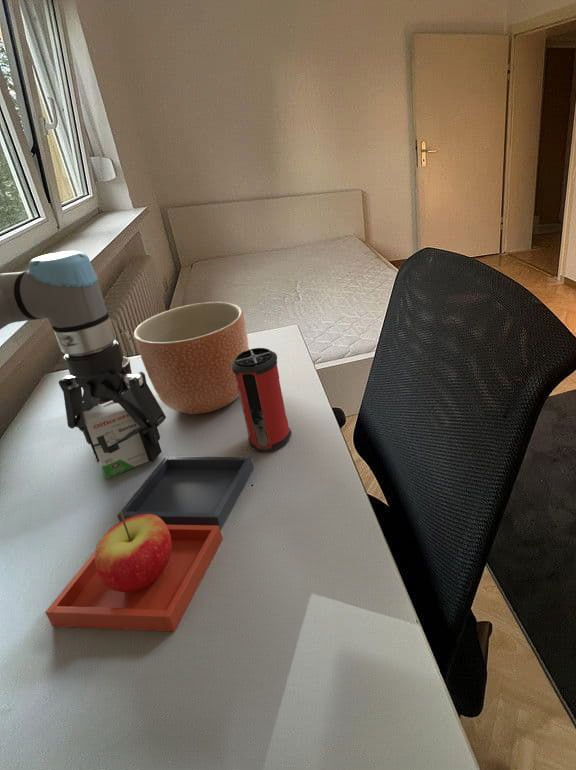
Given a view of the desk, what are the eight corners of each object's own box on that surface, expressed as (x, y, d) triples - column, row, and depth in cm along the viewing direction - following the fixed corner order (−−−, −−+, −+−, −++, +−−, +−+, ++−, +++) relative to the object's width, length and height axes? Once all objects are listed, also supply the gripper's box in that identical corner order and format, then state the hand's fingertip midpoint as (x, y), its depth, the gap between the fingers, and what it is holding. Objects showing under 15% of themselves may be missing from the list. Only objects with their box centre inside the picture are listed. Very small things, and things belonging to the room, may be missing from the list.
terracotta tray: (52, 626, 53) (44, 612, 52) (121, 536, 65) (116, 523, 64) (174, 631, 52) (169, 616, 51) (223, 538, 64) (219, 525, 63)
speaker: (295, 443, 82) (280, 358, 76) (253, 458, 79) (233, 371, 73) (286, 421, 89) (271, 341, 82) (246, 434, 86) (227, 352, 79)
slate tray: (121, 528, 66) (116, 515, 66) (169, 468, 78) (165, 456, 77) (221, 530, 65) (217, 517, 64) (254, 468, 77) (251, 456, 76)
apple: (170, 536, 64) (152, 483, 60) (185, 578, 58) (166, 521, 54) (104, 571, 59) (79, 516, 56) (113, 622, 53) (86, 562, 49)
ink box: (105, 480, 76) (83, 424, 72) (102, 465, 80) (80, 410, 75) (160, 456, 81) (142, 402, 77) (154, 443, 85) (137, 390, 80)
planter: (216, 434, 86) (194, 348, 79) (135, 419, 93) (108, 338, 86) (276, 378, 104) (262, 304, 98) (205, 369, 111) (187, 299, 104)
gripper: (8, 359, 69) (57, 471, 78) (139, 356, 67) (175, 472, 76) (47, 337, 76) (89, 442, 85) (167, 334, 74) (197, 443, 83)
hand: (129, 456), depth 80 cm, fingers closed on ink box, 9 cm apart
